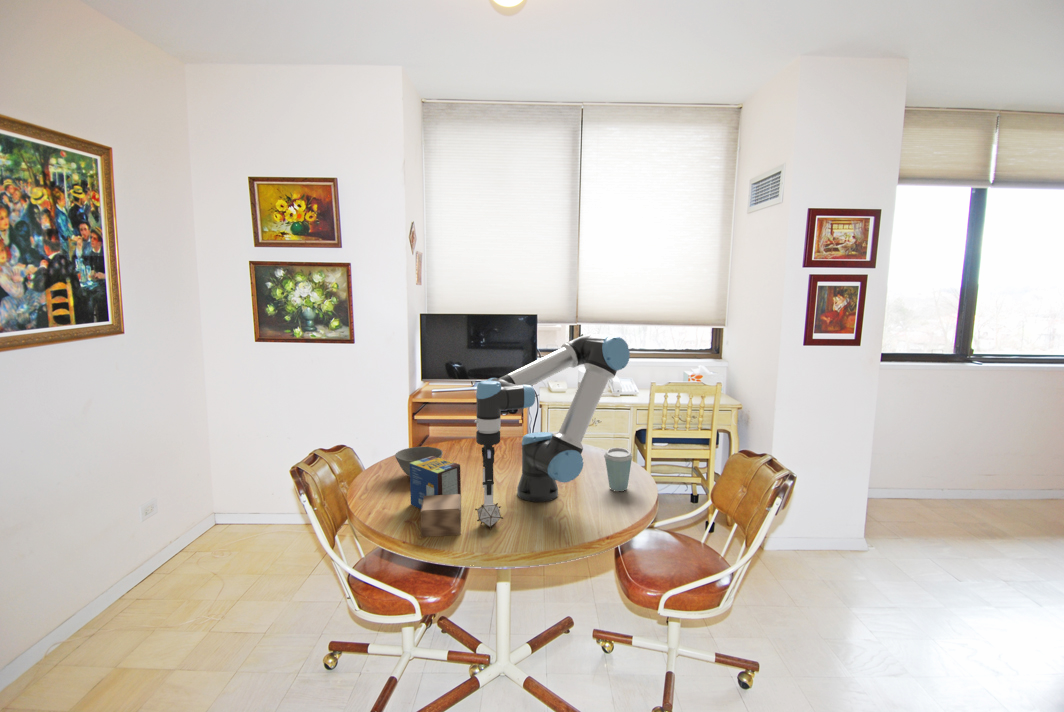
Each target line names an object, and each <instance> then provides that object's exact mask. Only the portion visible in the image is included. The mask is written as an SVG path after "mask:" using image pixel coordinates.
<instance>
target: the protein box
mask: <svg viewBox="0 0 1064 712" xmlns="http://www.w3.org/2000/svg"><path fill="white" fill-rule="evenodd" d="M461 481H462V480H461V464H460V463H456V462H453V461H450V460H447V459H444V458H442V457H441V458H438V457H435V456H430V457H427V458H424V459H420V460H417V461H414V462H411V463H410V477H409V486H410V487H409V489H410V490H409V491H410V495H409V496H410V505H411V506H413V507H415V508H418V509H420V510H421V508H422V503H423V498H424V496H430V495H451V494H461V495H462V487H461Z"/></svg>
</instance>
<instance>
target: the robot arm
mask: <svg viewBox="0 0 1064 712" xmlns="http://www.w3.org/2000/svg"><path fill="white" fill-rule="evenodd" d="M630 351H631V350H630V349H629V344H628V343H627V341H626V340H625V339H624V338H622V337H621V336H617V335H613V334H610V335H609V334H603V333H602V334H599V333H586V334H584V335H581V336H578V337H576V338H573V339H571V340H569V341H568V342H565V343H562V345H561V346H560V348H559V349H556V350H554V351H553V352H550V353H549V354H546V355H545V356H543V357H540V358H538V359H536V360H534V361H532V362H530V363H528V364H526V365H524V366H522V367H520V368H518V369H516V370H514V371H512V372H510V373H507V374H506V375H503V376H501V377H499V378H498V377H490V378H488V379H487V380H482V381H479V382H478V383H477V384H476V393H475V394H476V395H475V398H476V419H474V422H473V423H475V424H476V430H477V431H476V432H475V434H476V435H475V438H476V439H475V441H476V443H477V444H478V445H481V446H482V447H481V456H482V488H483V493H484V494H483V497H484V499H483V500H484V503H483V504H484V505H492V504H493V503H494V483H495V481H494V463H495V451H496V450H495V449H496V448H495V447H494V445H498V444H500V442H501V431H500V430H501V426H502V424H501V423H502V422H501V417H502V416H501V412H502V411H510V410H521V409H522V410H523V409H527V408H532V407H533V406H534V404H535V402H536V391H535V389H534V388H533V386H534V385H536V384H538V383H540V382H542V381H544V380H546V379H548V378H551V377H552V376H554V375H556V374H558V373H561V372H563V371H564V370H566V369H568V368H572V369H573V368H574V369H575V368H576V367H579V366H582V365H583V366H584V368H585V372H584V375H583V376H582V379H581V380H580V383H579V385H578V388H577V389H576V392H575V395H574V397H573V399H572V401H571V403H570V405H569V408H568V411H567V412H566V415H565V417H564V419H563V421H562V423H561V426H560V429H559V430H558V432H556V433H552V432H548V431H538V432H530V433H527V434H525V435H523V436H522V441H521V476H520V478H519V483H518V485H517V490H516V492H517V493H516V494H517V496H518V497H519V498H520V499H521V500H524V501H527V502H533V503H545V502H550V501H552V500H555V499H556V498H557V497H558V495H559V488H558V485H557V482H559V483H570V482H571V481H574V480H575V479H576V478H577V477H579V476H580V474H581V472H582V471H583V468H584V457H583V456H582V453H583V450H584V447H583V445H582V442H583V440H584V437H585V435H586V433H587V430H588V428H589V425H590V423H591V421H592V419H593V416H594V414H595V411H596V409H597V408H598V405H599V403H600V400H601V398H602V395H603V393H604V391H605V389H606V386H607V385H608V382H609V381H610V380H611V379H614V378H615V377H616V374H617V372H619V371H620V370H622V369H624V368H626V366H627V365H628V363H629V361H630V356H631V355H630V354H631V353H630ZM556 481H557V482H556Z"/></svg>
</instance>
